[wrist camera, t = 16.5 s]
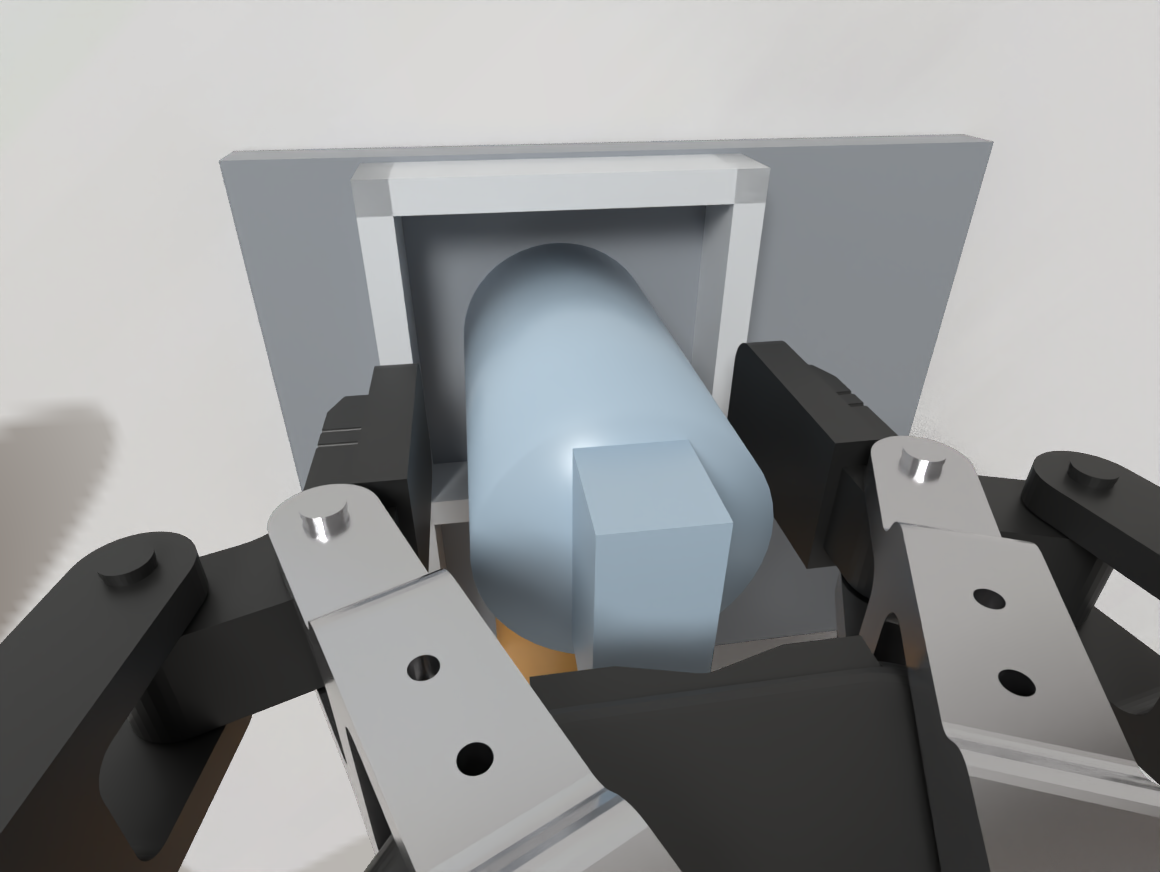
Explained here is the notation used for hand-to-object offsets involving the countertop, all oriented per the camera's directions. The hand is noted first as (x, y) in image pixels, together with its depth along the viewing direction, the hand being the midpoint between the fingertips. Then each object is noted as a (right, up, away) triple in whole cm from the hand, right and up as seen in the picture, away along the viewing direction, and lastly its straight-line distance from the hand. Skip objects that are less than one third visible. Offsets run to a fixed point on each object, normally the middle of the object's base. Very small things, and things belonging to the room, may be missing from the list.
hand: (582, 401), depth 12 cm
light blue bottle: (-1, +2, +2) cm, 3 cm away
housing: (+1, -1, +5) cm, 5 cm away
